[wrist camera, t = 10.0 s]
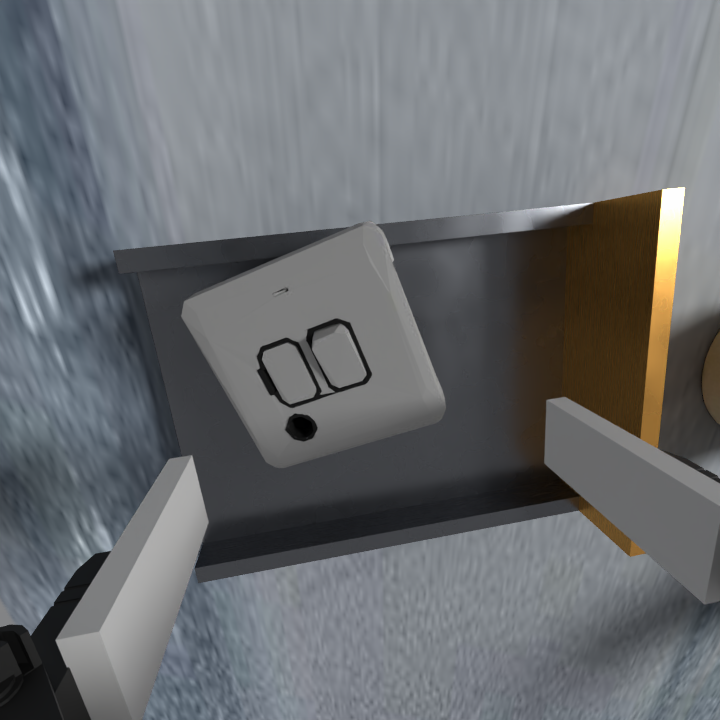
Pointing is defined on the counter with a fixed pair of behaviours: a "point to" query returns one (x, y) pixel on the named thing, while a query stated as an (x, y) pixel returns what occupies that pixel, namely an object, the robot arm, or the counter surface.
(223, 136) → the counter surface
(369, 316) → the electrical switch
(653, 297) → the drawer
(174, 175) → the counter surface
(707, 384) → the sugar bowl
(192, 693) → the counter surface
